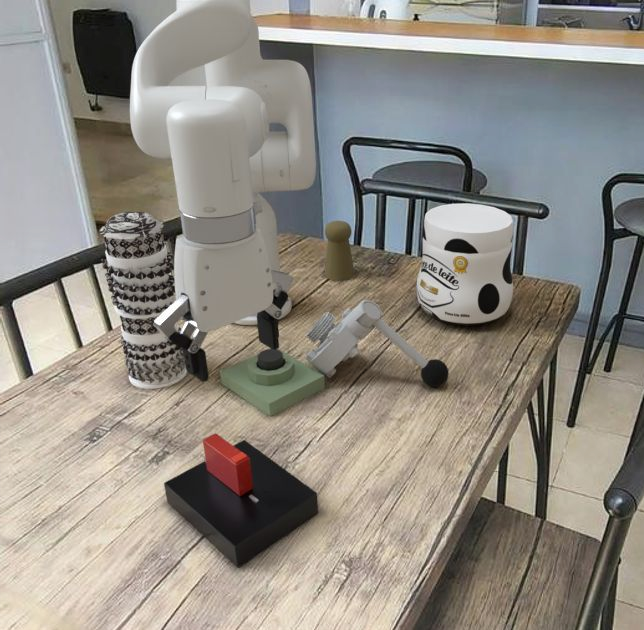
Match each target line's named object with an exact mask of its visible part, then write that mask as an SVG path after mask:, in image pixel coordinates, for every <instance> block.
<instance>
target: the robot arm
mask: <svg viewBox="0 0 644 630" xmlns="http://www.w3.org/2000/svg"><path fill="white" fill-rule="evenodd" d="M175 4H176V6H175V7H176V8H175V9H176V10H175V11H174V12H173V13H171V14H169V16H167V17H166V18H165V19H164V20H162V21H161V22H160V23H159V24H158V25H157V26H156V27H155V28H154V29H153V30H152V31H151V32H150V33H149V35H147V37H145V39H144V40H143V42H142V43H141V44H140V45H139V47H138V49H137V51H136V52H135V56H134V57H133V58H134V59H133V62H132V65H131V74H130V75H131V76H130V77H131V78H130V93H129V121H130V122H129V123H130V128H131V133H132V137H133V139H134V141H135V143H136V144H137V147H138V148H139V150H141V151H142V152H143V153H144V154H146V155H148V156H150V157H153V158H156V159H171V164H172V170H173V176H174V177H173V178H174V183H175V190H176V197H177V203H178V210H179V216H180V224H181V230H182V236H180V237H178V238H177V239H176V240H175V246H174V256H173V266H174V270H173V276H174V280H175V282H174V286H175V293H174V295H175V297H176V301H175V302H174V303H173V304H172V305H171V306H169V307H168V308H167V309H166V310H165V311H164V312H163V313H162V314H161V315H160V316H159V317H158V318H157V319H156V320H155V321H154V326H155V327H156V328H157V329H158V330H159V332H160V333H161V334H162V335H163V336H164V337H165V338H166V339H167V340H169V341H170V342H172V343H173V344H175V345H177V346H179V347H181V348H182V349H183V355H184V361H185V367H186V370H187V373H188V374H190V376H193V377H195V378H196V379H197V380H199V381H200V382H202V383H205V382H206V381H208V380H209V379H210V375H209V369H208V368H209V367H208V362H207V354H206V351H205V349H204V348H201V347H202V345H203V343H204V341H205V339H206V337H207V335H208V334H209V332H213V331H216V330H219V329H221V328H223V327H227V326H229V325H232V324H235V325H241V326H257V334H258V341H259V343H261V344H262V345H264V346H265V347H268V349H274V350H276V349H279V348H280V341H279V337H280V329H279V320H282V319H283V318H285V317H287V315H288V314H290V312H291V310H292V305H293V303H292V299H291V298H290V297H289V294H288V293H289V292H290V290H291V287H292V284H293V281H294V277H293V276H292V275H290V274H289V273H286V272H283V271H281V264H280V250H279V238H278V235H279V234H278V224H277V217H276V213H275V211H274V209H273V208H272V206H271V205H270V203H269V202H268V201H267V200H266V199H265V197H264V196H263V195H261V194H260V193H266V192H267V193H269V192H291V191H292V192H294V191H304V190H307V189H309V188H310V187H312V186H313V185H314V183H315V180H316V174H317V156H316V141H315V122H314V107H313V94H312V86H311V80H310V77H309V74H308V72H307V70H306V68H305V67H304V65H302V63H300V62H299V61H296V60H290V59H263V57H262V55H261V46H260V31H259V26H258V24H257V20H256V19H255V17H254V16H253V14H252V13H251V0H175ZM202 66H204V73H205V81H206V85H170V84H171V83H172V82H173V81H175V79H177V78H178V77H180V76H181V75H183V74H186V73H187V72H190V71H192V70H194V69H197V68H199V67H202ZM270 124H279V125H282V126H284V127H285V129H286V131H270ZM180 320H181V321H185V322H184V324H183V325H182V327H181V331H180V333H179V332H177V331H176V329H175V327H174V326H175V324H176V322H177V321H178V322H179V321H180Z"/></svg>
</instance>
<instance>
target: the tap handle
mask: <svg viewBox="0 0 644 630" xmlns="http://www.w3.org/2000/svg"><path fill="white" fill-rule="evenodd" d="M202 445H203V451H204V452H203V453H204V458H205V459H206V465H207V470H208V471H209V472H210V473H211V474H213V475H214V476H215V477H216V478H218V479H219V480H220V481H221V482H223V483H224V484H225V485H226V486H228V487H229V488H230V489H232V490H233V491H234V492H235V493H237V494H238V495H239V496H242V495H243V494H245V493H246V492H248V491H250V490H251V489H253V484H252V475H251V467H250V458H249V457H248V456H247V455H246V454H244V453H243V452H241V451H240V450H238V449H237V448H235V447H234V444H231V443H230V442H229V441H228V440H226V439H224V438H223V437H222V436H220V435H219V434H218V433H215V432H214V433H213V434H211V435H209V436H208V437H206V438H203V439H202Z"/></svg>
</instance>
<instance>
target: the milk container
mask: <svg viewBox="0 0 644 630" xmlns="http://www.w3.org/2000/svg"><path fill="white" fill-rule="evenodd" d="M422 228H423V229H422V232H423V233H422V235H423V236H422V257H421V258H422V260H421V265H420V267H419V271H418V275H417V278H416V286H415V287H416V290H415V291H416V297H417V302H418V304H419V306H420V308H421V309H422V311H423V312H424V313H425V314H427V315H428V316H430V317H432V319H435V320H436V321H439V322H442V323H446V324H448V325H456V326H462V327H463V326H464V327H467V326H480V325H481V326H482V325H484V324H490V323H493V322H495V321H496V320H498V319H500V318H502V317H503V316H504V315H505V314H506V313H507V311H508V310H509V308H510V306H511V302H512V300H513V295H514V282H513V276H512V269H511V260H512V253H513V239H514V222H513V217H512V215H510V214H509V213H508V212H506V211H505V210H502V209H500V208H497V207H495V206H490V205H485V204H477V203H468V202H465V203H464V202H463V203H448V204H443V205H438V206H436V207H433V208H431V209H429V210H428V211H427V212H426V213H425V215H424V220H423V227H422Z"/></svg>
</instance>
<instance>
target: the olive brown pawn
mask: <svg viewBox="0 0 644 630" xmlns="http://www.w3.org/2000/svg"><path fill="white" fill-rule="evenodd" d="M324 236H325V238H326V239H327V245H326V253H325V254H326V255H325V267H324V277H325V278H326V279H328V280H331V281H338V282H339V281H340V282H341V281H347V280H348V281H349V280H350V279H353V278H354V277H355V268H354V263H353V256H352V250H351V243H350V238H351V236H352V227H351V225H350V223H348V222H347V221H343V220H333V221H330V222H328V223H327V224H326V225H325V226H324Z"/></svg>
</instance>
